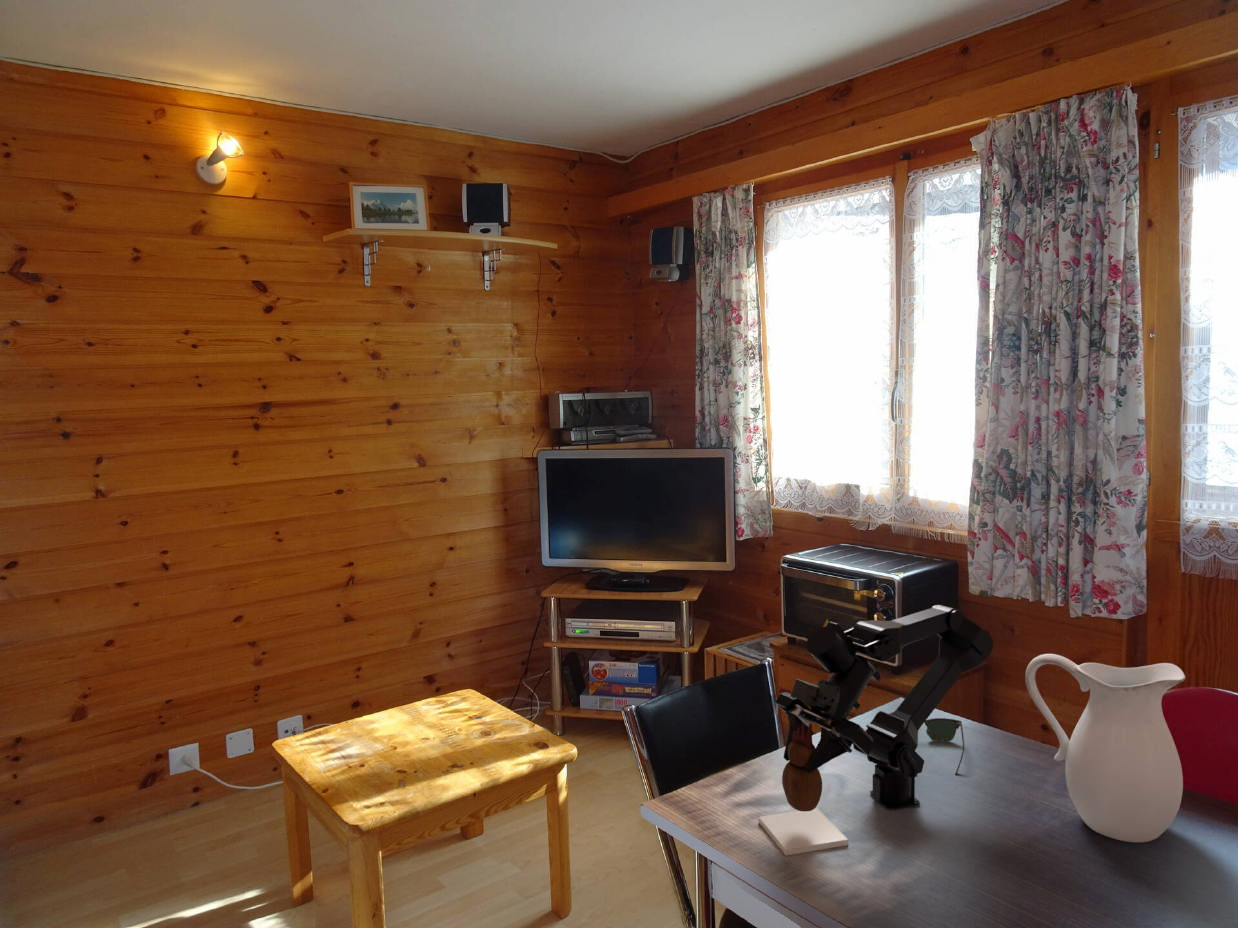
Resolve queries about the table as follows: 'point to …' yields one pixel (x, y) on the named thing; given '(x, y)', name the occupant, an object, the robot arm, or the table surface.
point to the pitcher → (1119, 748)
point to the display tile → (802, 831)
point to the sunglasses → (944, 730)
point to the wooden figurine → (801, 773)
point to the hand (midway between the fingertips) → (796, 765)
